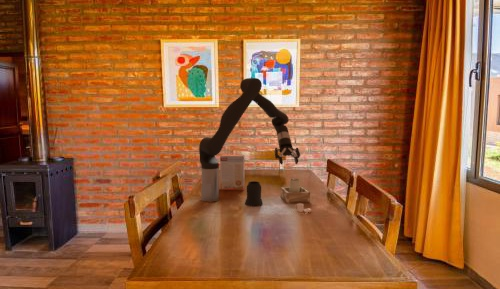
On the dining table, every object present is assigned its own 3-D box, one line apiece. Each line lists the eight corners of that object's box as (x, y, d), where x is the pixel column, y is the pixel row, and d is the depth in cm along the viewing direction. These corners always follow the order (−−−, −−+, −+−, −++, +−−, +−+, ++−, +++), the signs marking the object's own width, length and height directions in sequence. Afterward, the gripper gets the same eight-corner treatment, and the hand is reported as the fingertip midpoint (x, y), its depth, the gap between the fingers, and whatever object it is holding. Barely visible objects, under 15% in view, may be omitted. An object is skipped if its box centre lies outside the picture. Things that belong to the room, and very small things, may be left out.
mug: (261, 206, 160) (262, 184, 158) (243, 206, 161) (243, 184, 160) (264, 200, 171) (264, 179, 170) (247, 199, 173) (247, 178, 171)
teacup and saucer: (313, 212, 153) (313, 203, 153) (306, 216, 147) (306, 208, 146) (296, 208, 158) (296, 200, 158) (288, 213, 152) (289, 204, 151)
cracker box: (244, 188, 196) (244, 154, 193) (243, 191, 190) (243, 156, 187) (222, 187, 197) (221, 154, 195) (220, 190, 191) (220, 155, 189)
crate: (309, 202, 167) (310, 192, 167) (286, 203, 165) (286, 193, 165) (302, 196, 180) (302, 186, 179) (280, 196, 178) (280, 187, 177)
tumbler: (298, 199, 169) (298, 180, 168) (287, 198, 171) (288, 180, 170) (300, 196, 174) (300, 178, 173) (290, 196, 176) (290, 178, 175)
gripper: (273, 137, 185) (278, 159, 175) (297, 136, 188) (303, 159, 178) (271, 145, 191) (275, 167, 181) (294, 144, 193) (300, 167, 184)
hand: (289, 163), depth 180 cm, fingers open, 8 cm apart
